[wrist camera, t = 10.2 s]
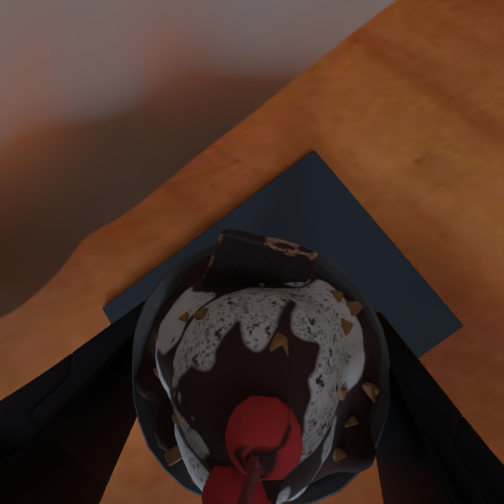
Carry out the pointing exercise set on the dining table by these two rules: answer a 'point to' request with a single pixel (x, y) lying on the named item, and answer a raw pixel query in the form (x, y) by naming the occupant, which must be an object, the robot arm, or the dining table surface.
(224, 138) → the dining table surface
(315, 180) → the dark blue rectangular panel
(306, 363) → the sundae
